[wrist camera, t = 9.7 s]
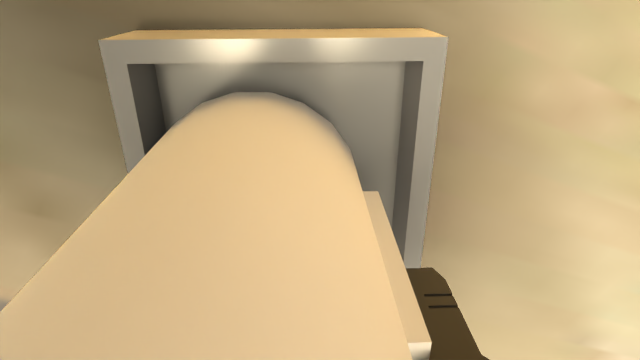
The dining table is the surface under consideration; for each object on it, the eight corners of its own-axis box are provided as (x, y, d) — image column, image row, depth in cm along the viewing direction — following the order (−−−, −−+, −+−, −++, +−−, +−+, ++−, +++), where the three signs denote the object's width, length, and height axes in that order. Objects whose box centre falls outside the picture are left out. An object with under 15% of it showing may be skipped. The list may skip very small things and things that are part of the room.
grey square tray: (136, 30, 17) (97, 39, 14) (422, 27, 17) (448, 37, 14) (179, 265, 22) (158, 312, 19) (400, 260, 23) (415, 305, 19)
